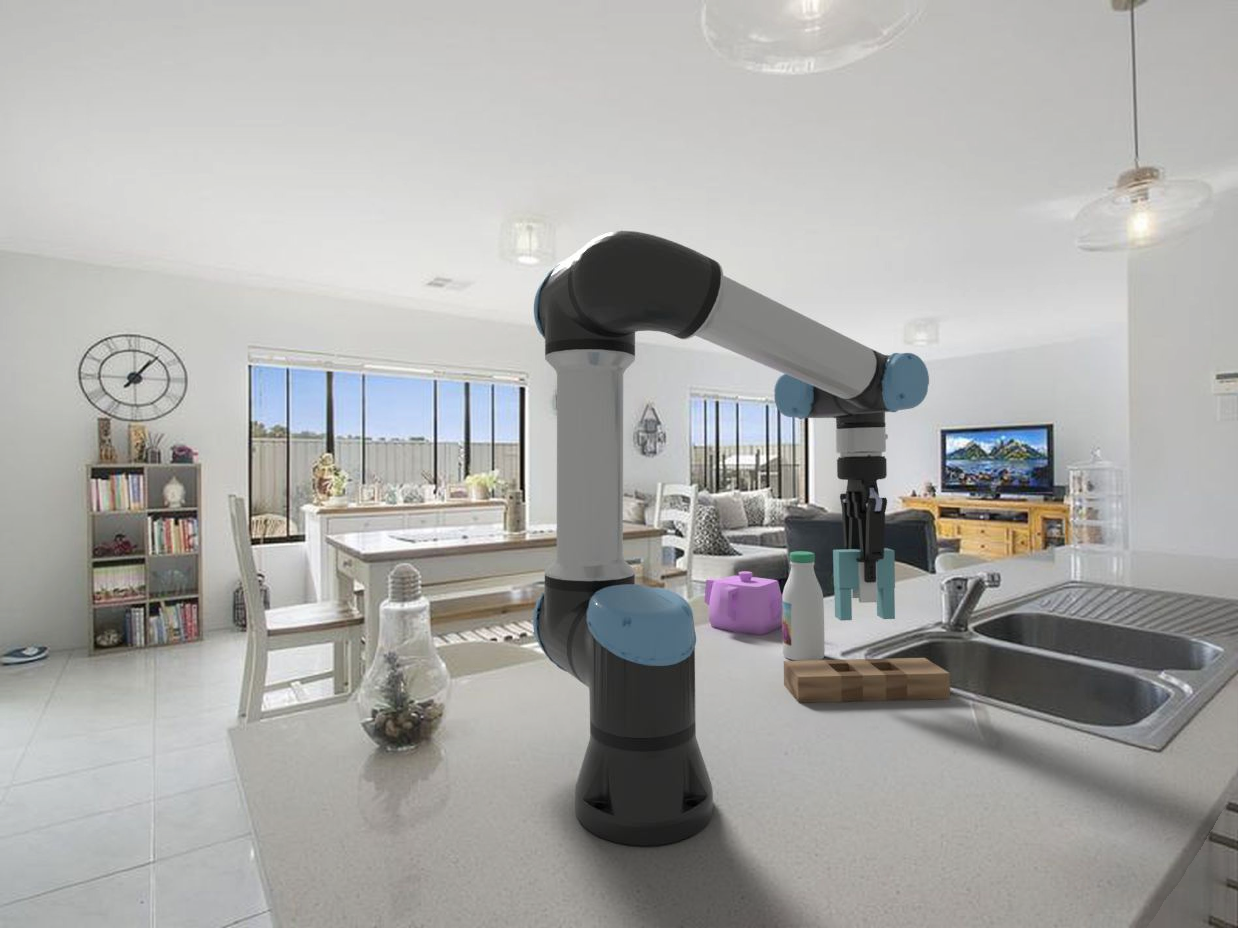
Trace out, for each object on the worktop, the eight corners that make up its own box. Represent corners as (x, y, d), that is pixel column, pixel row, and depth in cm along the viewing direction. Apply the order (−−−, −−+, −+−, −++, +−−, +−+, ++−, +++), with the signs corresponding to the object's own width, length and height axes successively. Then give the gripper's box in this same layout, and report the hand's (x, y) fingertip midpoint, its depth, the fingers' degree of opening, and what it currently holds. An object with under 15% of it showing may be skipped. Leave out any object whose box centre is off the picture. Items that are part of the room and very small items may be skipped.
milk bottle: (829, 654, 126) (828, 551, 126) (818, 665, 119) (816, 556, 119) (790, 648, 130) (788, 548, 130) (777, 659, 123) (775, 553, 123)
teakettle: (701, 618, 156) (700, 567, 156) (770, 615, 158) (769, 564, 158) (719, 637, 139) (719, 580, 139) (796, 634, 141) (795, 577, 141)
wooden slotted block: (950, 698, 102) (949, 673, 102) (798, 702, 101) (798, 676, 101) (924, 681, 110) (924, 657, 110) (784, 684, 109) (783, 660, 109)
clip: (895, 618, 105) (894, 550, 104) (840, 620, 104) (838, 552, 104) (888, 614, 107) (887, 548, 107) (834, 616, 107) (833, 549, 107)
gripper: (906, 454, 98) (909, 610, 98) (864, 454, 113) (867, 589, 114) (857, 455, 98) (860, 611, 98) (821, 455, 113) (824, 590, 113)
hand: (863, 599), depth 106 cm, fingers closed on clip, 3 cm apart
